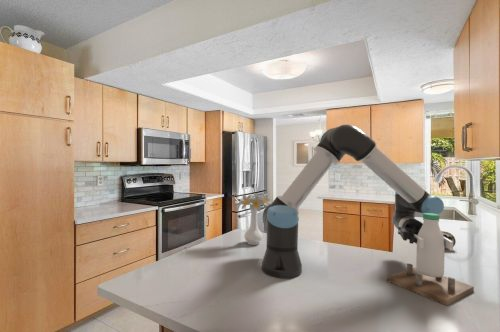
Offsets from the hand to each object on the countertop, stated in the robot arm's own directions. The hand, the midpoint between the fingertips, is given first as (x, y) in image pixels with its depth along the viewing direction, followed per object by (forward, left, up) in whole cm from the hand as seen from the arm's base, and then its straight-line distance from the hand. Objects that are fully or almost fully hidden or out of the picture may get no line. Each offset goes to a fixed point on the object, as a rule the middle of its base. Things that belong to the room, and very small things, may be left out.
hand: (436, 244), depth 84 cm
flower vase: (-70, -26, -15) cm, 77 cm away
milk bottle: (-3, +4, -11) cm, 12 cm away
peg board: (-3, +3, -15) cm, 16 cm away
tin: (-23, +52, -16) cm, 59 cm away
